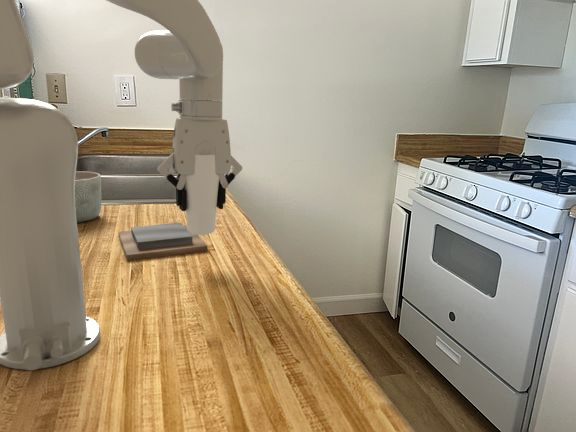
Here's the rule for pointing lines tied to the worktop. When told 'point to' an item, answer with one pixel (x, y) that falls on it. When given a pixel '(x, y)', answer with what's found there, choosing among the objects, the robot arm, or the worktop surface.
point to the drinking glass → (202, 196)
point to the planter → (87, 195)
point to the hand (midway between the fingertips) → (201, 207)
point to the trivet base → (159, 250)
